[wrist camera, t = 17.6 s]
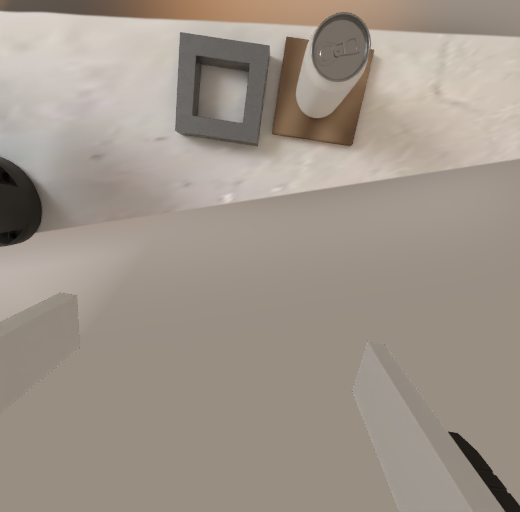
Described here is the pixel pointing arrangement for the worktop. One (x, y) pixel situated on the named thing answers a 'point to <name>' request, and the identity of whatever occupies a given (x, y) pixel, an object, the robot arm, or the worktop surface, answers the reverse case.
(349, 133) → the walnut pad
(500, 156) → the worktop surface
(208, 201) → the worktop surface
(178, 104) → the steel collar
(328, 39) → the can
